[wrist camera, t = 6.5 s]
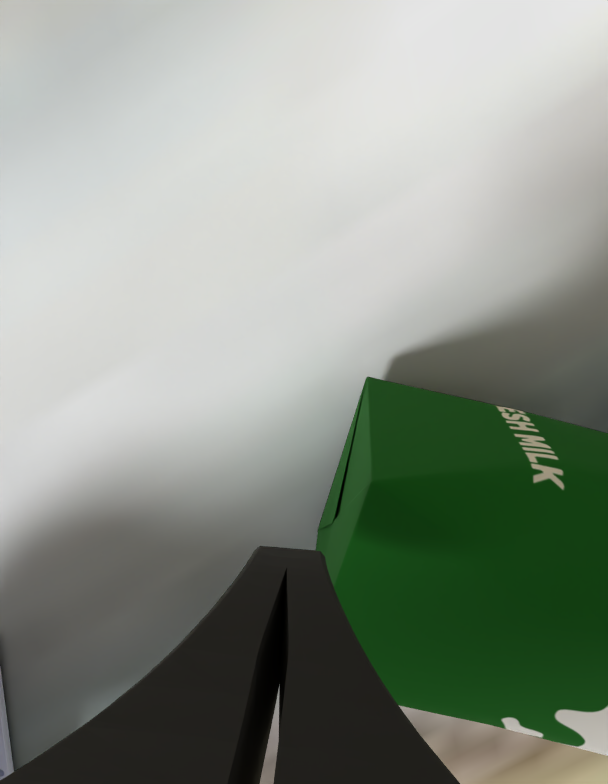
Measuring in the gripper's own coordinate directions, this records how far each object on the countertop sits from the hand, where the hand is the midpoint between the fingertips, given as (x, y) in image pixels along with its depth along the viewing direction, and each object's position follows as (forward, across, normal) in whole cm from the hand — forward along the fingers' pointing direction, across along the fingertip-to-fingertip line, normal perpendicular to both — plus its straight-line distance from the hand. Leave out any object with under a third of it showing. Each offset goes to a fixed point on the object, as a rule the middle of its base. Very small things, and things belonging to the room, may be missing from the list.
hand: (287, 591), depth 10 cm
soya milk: (+6, -1, +1) cm, 6 cm away
